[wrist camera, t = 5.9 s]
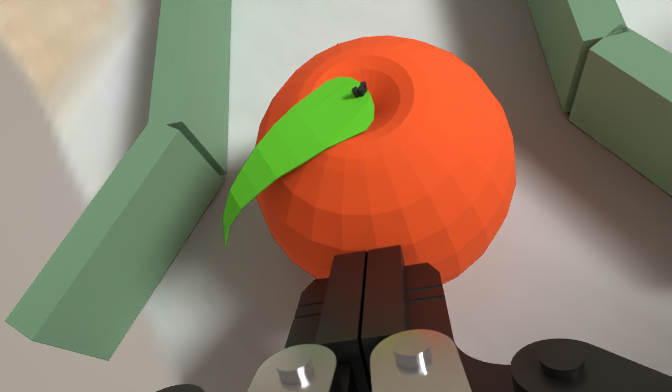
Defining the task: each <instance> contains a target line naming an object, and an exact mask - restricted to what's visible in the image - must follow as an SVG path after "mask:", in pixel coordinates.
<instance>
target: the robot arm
mask: <svg viewBox="0 0 672 392" xmlns="http://www.w3.org/2000/svg"><path fill="white" fill-rule="evenodd" d="M157 392H204V390H203V389H201V388H200V387H198V386H195V385H190V384H183V385H175V386H171V387H167V388H164V389H162V390H160V391H157ZM247 392H672V377H671V376H668V375H666V374H663V373H661V372H658V371H656V370H653V369H651V368H648V367H646V366H643V365H641V364H638V363H636V362H633V361H631V360H629V359H626V358H624V357H621V356H619V355H616V354H614V353H611V352H609V351H606V350H604V349H601V348H599V347H596V346H594V345H591V344H589V343H586V342H582V341H578V340H572V339H547V340H541V341H537V342H534V343H531V344H529V345H527V346H525V347H523V348H522V349H520V350H519V351H518V352H517V353H516V354H515V356H514V357H513V359H512V361H511V365H500V364H492V363H487V362H482V361H479V360H476V359H474V358H472V357H470V356H468V355H466V354H465V353H463V352H462V351H461V350H460V349H459V348H458V347H457V346H456V344H455V342H454V339H453V334H452V330H451V325H450V320H449V315H448V310H447V305H446V301H445V296H444V291H443V286H442V281H441V277H440V272H439V271H438V270H437V269H435V268H434V267H433V266H432V265H430V264H429V263H428V262H427V263H420V264H414V265H407V266H405V263H404V258H403V253H402V248H401V245H396V246H389V247H383V248H377V249H371V250H368V253H367V251H366V250H365V251H358V252H352V253H346V254H340V255H335V256H334V259H333V263H332V267H331V272H330V276H329V278H323V279H316V280H314V281H313V282H312V283H311V284H310V285H309V286H308V287H307V288H306V289H305V290H304V291H303V292H302V294H301V297H300V301H299V304H298V308H297V310H296V313H295V319H294V320H293V323H292V326H291V329H290V333H289V336H288V339H287V342H286V346H285V349H284V350H281V351H279V352H277V353H275V354H274V355H272V356H271V357H269V358H268V359H267V360H266V361H264V362H263V363H262V364H261V366H260V367H259V368H258V370H257V372H256V374H255V376H254V378H253V380H252V382H251V384H250V386H249V388H248V390H247Z"/></svg>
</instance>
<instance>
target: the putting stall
mask: <svg viewBox="0 0 672 392" xmlns="http://www.w3.org/2000/svg"><path fill="white" fill-rule="evenodd" d="M526 1H527V4H528V7H529V10H530V13H531V16H532V19H533V22H534V25H535V28H536V31H537V34H538V37H539V40H540V44H541V47H542V50H543V53H544V56H545V59H546V62H547V65H548V68H549V71H550V74H551V77H552V80H553V83H554V87H555V90H556V93H557V96H558V99H559V102H560V105H561V108H562V111H563V113H565V112H570V116H569V119H568V120H569V121H570V122H572V123H573V124H574V125H576V126H577V127H578V128H580V129H581V130H582V131H584V132H585V133H587V134H588V135H589V136H591V137H592V138H593V139H595V140H596V141H597V142H599V143H600V144H601V145H603V146H604V147H605V148H607V149H608V150H610V151H611V152H612V153H614V154H615V155H616V156H618V157H619V158H620V159H622V160H623V161H624V162H626V163H627V164H628V165H630V166H631V167H632V168H634V169H635V170H637V171H638V172H639V173H641V174H642V175H643V176H645V177H646V178H647V179H649V180H650V181H651V182H653V183H654V184H655V185H657V186H658V187H659V188H661V189H662V190H664V191H665V192H666V193H668V194H669V195H670V196H672V54H671V53H669V52H668V51H666V50H664V49H663V48H661V47H659V46H658V45H656V44H654V43H653V42H651V41H649V40H648V39H646V38H644V37H643V36H641V35H639V34H638V33H636V32H634V31H633V30H631V29H629V28H628V27H627V26H626V24H625V22H624V19H623V17H622V15H621V12H620V10H619V8H618V5H617V3H616V1H615V0H526ZM230 30H231V0H161V7H160V17H159V26H158V35H157V44H156V53H155V62H154V71H153V81H152V90H151V99H150V108H149V117H148V124H147V125H146V127H145V128H144V130H143V131H142V132H141V134H140V135H139V136H138V138H137V139H136V141H135V142H134V143H133V145H132V146H131V148H130V149H129V150H128V152H127V153H126V154H125V156H124V157H123V159H122V160H121V161H120V163H119V164H118V166H117V167H116V168H115V170H114V171H113V172H112V174H111V175H110V177H109V178H108V179H107V181H106V182H105V183H104V185H103V186H102V188H101V189H100V190H99V192H98V193H97V195H96V196H95V197H94V199H93V200H92V201H91V203H90V204H89V206H88V207H87V208H86V210H85V211H84V213H83V214H82V215H81V217H80V218H79V219H78V221H77V222H76V224H75V225H74V227H73V228H72V229H71V231H70V232H69V233H68V235H67V236H66V238H65V239H64V240H63V242H62V243H61V244H60V246H59V247H58V249H57V250H56V251H55V253H54V254H53V255H52V257H51V258H50V260H49V261H48V262H47V264H46V265H45V266H44V268H43V269H42V271H41V272H40V274H39V275H38V276H37V278H36V279H35V280H34V282H33V283H32V285H31V286H30V287H29V289H28V290H27V291H26V293H25V294H24V295H23V297H22V298H21V300H20V301H19V303H18V304H17V305H16V307H15V308H14V309H13V311H12V312H11V313H10V315H9V316H8V318H7V319H6V320H5V322H7V323H8V324H10V325H11V326H12V327H14V328H15V329H17V330H18V331H19V332H21V333H22V334H24V335H25V336H26V337H28V338H29V339H30V340H32V341H35V342H39V343H43V344H47V345H51V346H54V347H58V348H62V349H66V350H70V351H74V352H78V353H81V354H85V355H89V356H92V357H96V358H100V359H104V360H109V359H110V358H111V356H112V354H113V353H114V351H115V350H116V348H117V347H118V345H119V344H120V342H121V341H122V339H123V337H124V336H125V334H126V333H127V331H128V330H129V328H130V327H131V325H132V324H133V322H134V320H135V319H136V317H137V316H138V314H139V313H140V311H141V310H142V308H143V306H144V305H145V303H146V302H147V300H148V299H149V297H150V296H151V294H152V293H153V291H154V289H155V288H156V286H157V285H158V283H159V282H160V280H161V279H162V277H163V275H164V274H165V272H166V271H167V269H168V268H169V266H170V265H171V263H172V261H173V260H174V258H175V257H176V255H177V254H178V252H179V251H180V249H181V248H182V246H183V244H184V243H185V241H186V240H187V238H188V237H189V235H190V234H191V232H192V230H193V229H194V227H195V226H196V224H197V223H198V221H199V220H200V218H201V216H202V215H203V213H204V212H205V210H206V209H207V207H208V206H209V204H210V203H211V201H212V199H213V198H214V196H215V195H216V193H217V192H218V190H219V189H220V187H221V185H222V184H223V182H224V180H223V179H222V178H221V177H220V174H226V173H227V145H228V107H229V68H230Z"/></svg>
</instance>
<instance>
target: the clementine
mask: <svg viewBox="0 0 672 392" xmlns="http://www.w3.org/2000/svg"><path fill="white" fill-rule="evenodd" d="M515 185H516V174H515V150H514V142H513V135H512V132H511V129H510V126H509V124H508V121H507V118H506V115H505V112H504V110H503V107H502V105H501V104H500V103H499V101H498V100H497V99H496V98H495V96H494V95H493V94H492V92H491V91H490V90H489V88H488V87H487V86H486V84H485V83H484V82H483V81H482V79H481V78H480V77H479V76H478V74H477V73H476V72H475V70H474V69H472V68H471V67H470V66H468V65H467V64H466V63H464V62H463V61H462V60H460V59H459V58H457V57H456V56H455V55H453V54H452V53H450V52H448V51H445V50H443V49H440V48H438V47H435V46H432V45H430V44H427V43H425V42H421V41H418V40H414V39H409V38H402V37H395V36H374V37H362V38H358V39H355V40H351V41H347V42H344V43H340V44H337V45H335V46H333V47H331V48H329V49H327V50H325V51H323V52H321V53H319V54H317V55H315V56H314V57H313V58H311V59H310V60H309V61H308V62H306V63H305V64H304V65H302V66H301V67H300V68H299V69H297V70H296V71H295V72H294V74H293V75H292V76H291V77H290V78H289V80H288V81H287V82H286V83H285V84H284V86H283V87H282V88H281V89H280V90H279V92H278V93H277V94H276V96H275V97H274V98H273V99H272V101H271V103H270V105H269V107H268V109H267V111H266V113H265V115H264V117H263V119H262V121H261V123H260V127H259V132H258V137H257V141H256V146H255V149H254V150H253V152H252V154H251V155H250V157H249V158H248V160H247V161H246V163H245V164H244V166H243V167H242V169H241V171H240V173H239V175H238V176H237V178H236V180H235V182H234V184H233V185H232V187H231V189H230V192H229V195H228V199H227V203H226V207H225V210H224V214H223V218H222V220H223V230H224V240H225V247H226V246H227V240H228V232H229V227H230V225H231V224H232V222H233V221H234V220H235V218H236V217H237V215H238V214H239V213H240V211H241V210H242V209H243V208H244V207H245V206H246V205H247V204H248V203H249V202H250V201H252V200H253V199H254V198H255V197H256V198H257V200H258V203H259V206H260V208H261V211H262V213H263V216H264V218H265V221H266V223H267V225H268V227H269V229H270V231H271V233H272V235H273V238H274V239H275V240H276V242H277V243H278V244H279V245H280V247H281V248H282V249H283V250H284V252H285V253H286V254H287V255H288V257H289V258H290V259H291V260H292V262H293V263H295V264H296V265H298V266H299V267H301V268H302V269H304V270H305V271H306V272H308V273H309V274H311V275H312V276H314V277H315V278H317V279H323V278H329V276H330V272H331V267H332V263H333V259H334V256H335V255H340V254H346V253H352V252H358V251H365V250H366V251H367V253H368V250H371V249H377V248H383V247H389V246H396V245H401V248H402V253H403V258H404V263H405V266H407V265H414V264H420V263H427V262H428V263H429V264H430V265H432V266H433V267H434V268H435V269H437V270H438V271H439V272H440V277H441V281H442V284H444V283H446V282H448V281H450V280H452V279H454V278H456V277H458V276H459V275H460V274H461V273H463V272H464V271H465V270H466V269H467V268H468V267H469V266H470V265H472V264H473V263H474V262H475V261H476V260H477V259H478V258H480V257H481V256H482V255H483V254H484V252H485V251H486V249H487V247H488V246H489V244H490V243H491V241H492V240H493V238H494V237H495V235H496V233H497V232H498V230H499V229H500V227H501V225H502V224H503V222H504V220H505V218H506V216H507V213H508V210H509V206H510V203H511V199H512V196H513V192H514V189H515Z"/></svg>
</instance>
